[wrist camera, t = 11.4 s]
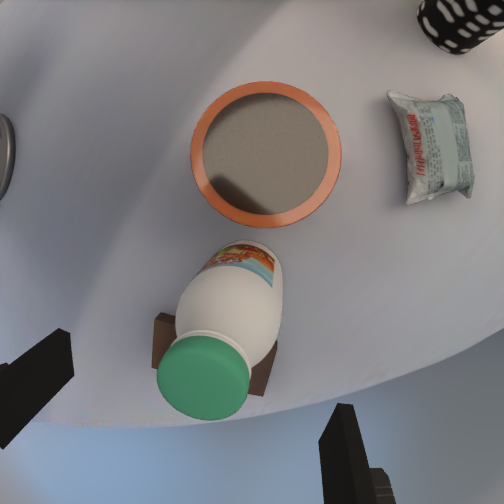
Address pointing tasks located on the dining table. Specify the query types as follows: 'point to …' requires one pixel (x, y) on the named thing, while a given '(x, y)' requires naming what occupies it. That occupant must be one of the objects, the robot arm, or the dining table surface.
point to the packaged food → (434, 146)
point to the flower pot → (265, 154)
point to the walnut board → (167, 336)
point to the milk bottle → (222, 331)
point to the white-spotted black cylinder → (460, 22)
